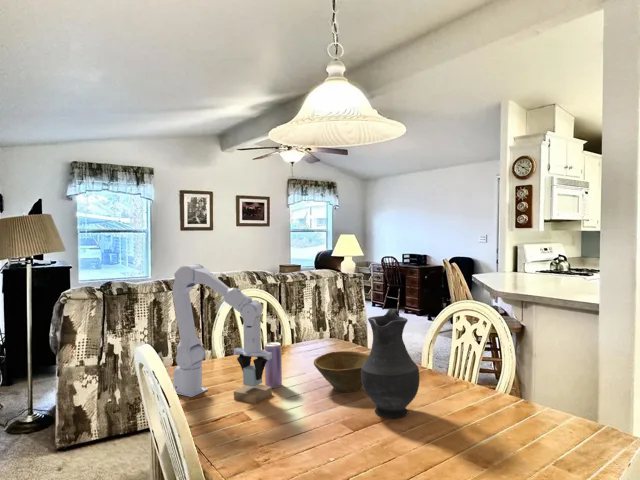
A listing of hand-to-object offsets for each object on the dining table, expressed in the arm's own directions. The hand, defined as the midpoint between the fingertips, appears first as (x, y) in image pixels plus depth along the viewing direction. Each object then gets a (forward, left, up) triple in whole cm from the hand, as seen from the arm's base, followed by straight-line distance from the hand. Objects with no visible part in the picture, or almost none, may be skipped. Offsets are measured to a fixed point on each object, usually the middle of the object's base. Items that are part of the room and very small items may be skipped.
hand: (252, 378), depth 146 cm
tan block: (0, 0, -7) cm, 7 cm away
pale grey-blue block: (0, 0, -2) cm, 2 cm away
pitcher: (+45, +10, -6) cm, 47 cm away
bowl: (+24, +22, -6) cm, 33 cm away
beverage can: (0, +12, -6) cm, 14 cm away
